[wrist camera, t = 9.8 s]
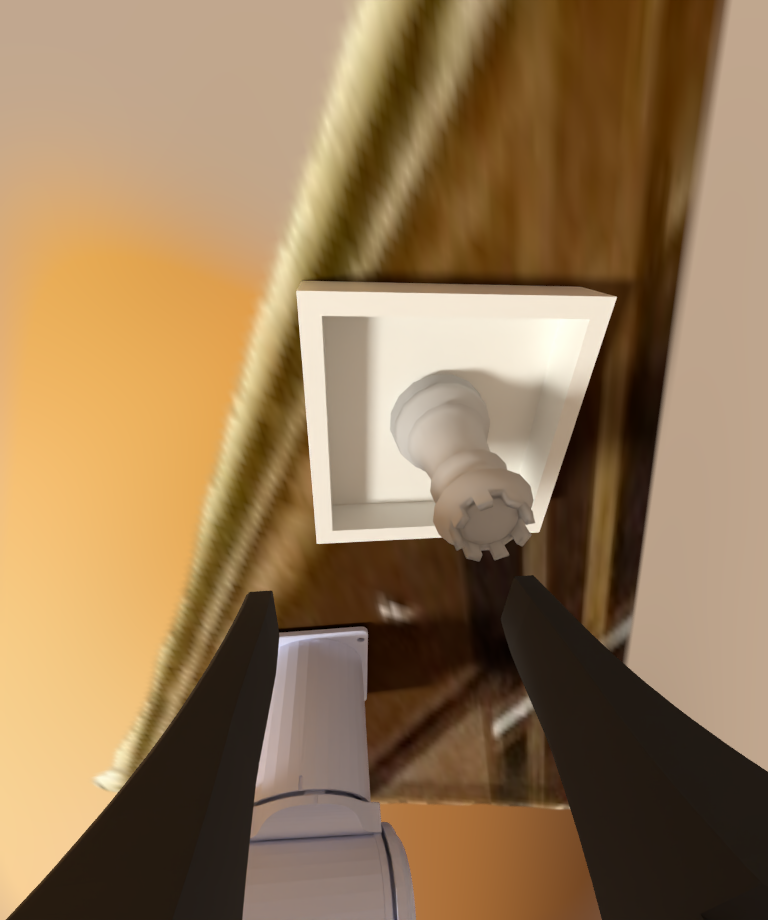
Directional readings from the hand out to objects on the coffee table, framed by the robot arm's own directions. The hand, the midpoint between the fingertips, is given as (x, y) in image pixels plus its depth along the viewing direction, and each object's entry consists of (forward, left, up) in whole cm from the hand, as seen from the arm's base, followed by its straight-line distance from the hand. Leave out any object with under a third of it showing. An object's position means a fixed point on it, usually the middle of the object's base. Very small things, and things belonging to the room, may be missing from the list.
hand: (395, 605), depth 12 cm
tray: (+2, -3, -9) cm, 10 cm away
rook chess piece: (+2, -3, -9) cm, 10 cm away
